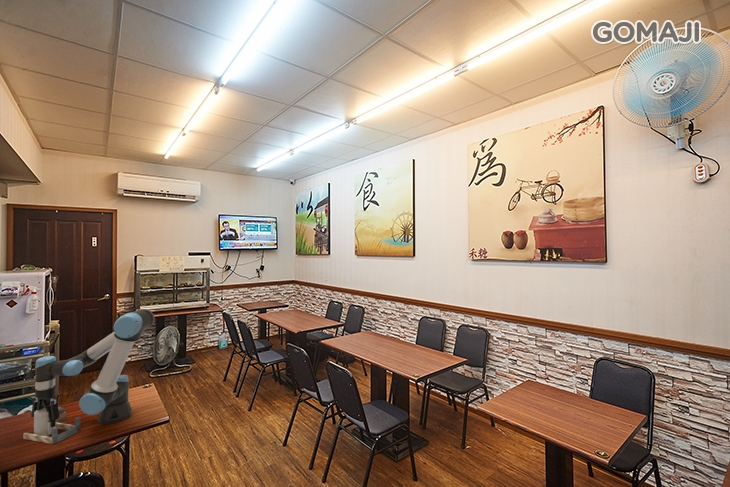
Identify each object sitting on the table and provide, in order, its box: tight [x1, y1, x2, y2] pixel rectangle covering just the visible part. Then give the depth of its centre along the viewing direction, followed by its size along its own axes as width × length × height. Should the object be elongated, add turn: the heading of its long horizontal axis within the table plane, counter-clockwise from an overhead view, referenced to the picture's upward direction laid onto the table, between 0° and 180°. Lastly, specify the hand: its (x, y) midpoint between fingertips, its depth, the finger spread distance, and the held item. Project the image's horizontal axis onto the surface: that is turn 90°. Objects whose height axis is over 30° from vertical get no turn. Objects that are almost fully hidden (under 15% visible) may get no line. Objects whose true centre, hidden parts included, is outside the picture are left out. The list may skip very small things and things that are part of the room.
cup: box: [33, 408, 56, 437], centre depth 170 cm, size 8×8×12 cm
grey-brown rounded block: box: [56, 406, 67, 423], centre depth 183 cm, size 7×4×7 cm, turn 77°
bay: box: [22, 416, 81, 445], centre depth 169 cm, size 20×12×7 cm, turn 77°
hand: (45, 431), depth 170 cm, fingers closed on cup, 8 cm apart
